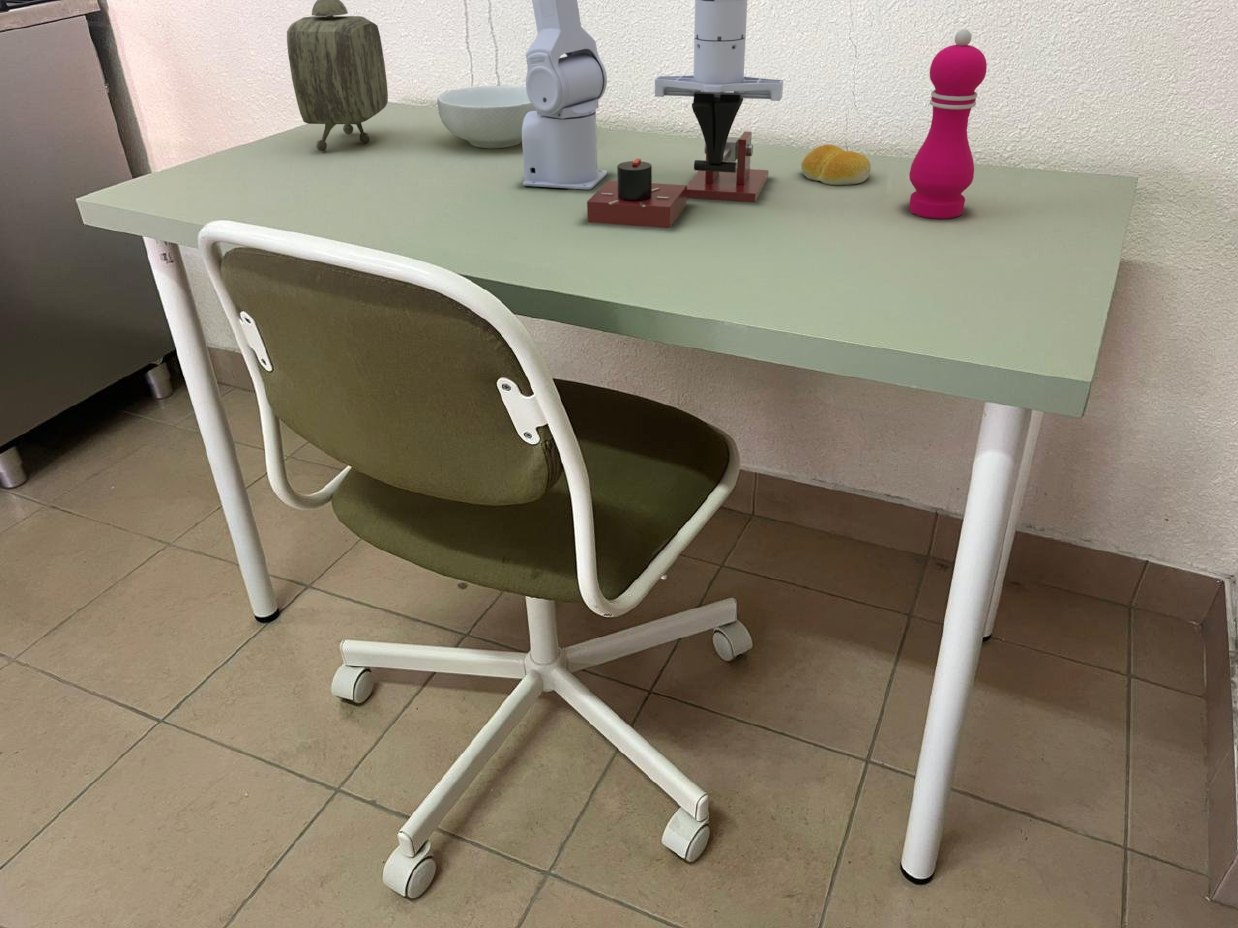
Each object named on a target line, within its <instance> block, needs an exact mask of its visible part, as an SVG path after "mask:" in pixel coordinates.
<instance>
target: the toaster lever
mask: <svg viewBox="0 0 1238 928" xmlns="http://www.w3.org/2000/svg"><path fill="white" fill-rule="evenodd" d="M739 138H740V137H737V136H735V137H732V136H731V137H730V136H728V138H727V142H726V145H725V150H724V156H723V160H722V162H721V163H720V164H714V163H709V162H708V161H706V159H705V160H702V159H695V160H694V162H693V170H694V171H695V172H696V171H697V172H698V171H713V172H731V173H736V170H737V157H738V140H739Z"/></svg>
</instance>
